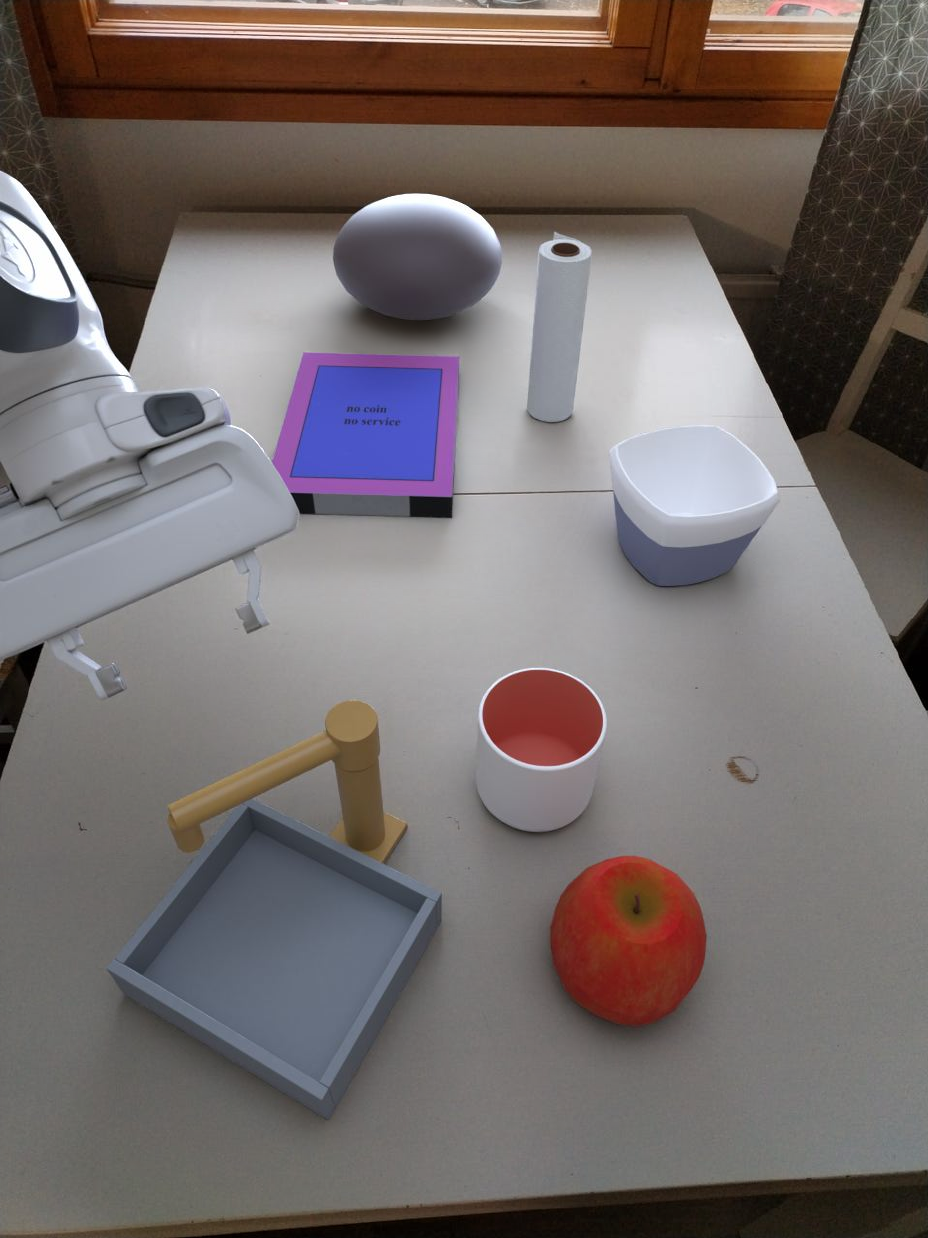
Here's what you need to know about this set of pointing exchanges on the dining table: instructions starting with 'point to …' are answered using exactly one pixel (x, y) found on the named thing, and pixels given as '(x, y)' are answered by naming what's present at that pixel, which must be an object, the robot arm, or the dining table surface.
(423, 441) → the book
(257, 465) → the robot arm
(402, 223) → the smooth stone
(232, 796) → the spout
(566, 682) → the cup
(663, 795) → the dining table surface
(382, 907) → the sink
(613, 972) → the apple
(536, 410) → the paper towel roll
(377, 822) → the faucet base
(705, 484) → the bowl
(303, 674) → the dining table surface
